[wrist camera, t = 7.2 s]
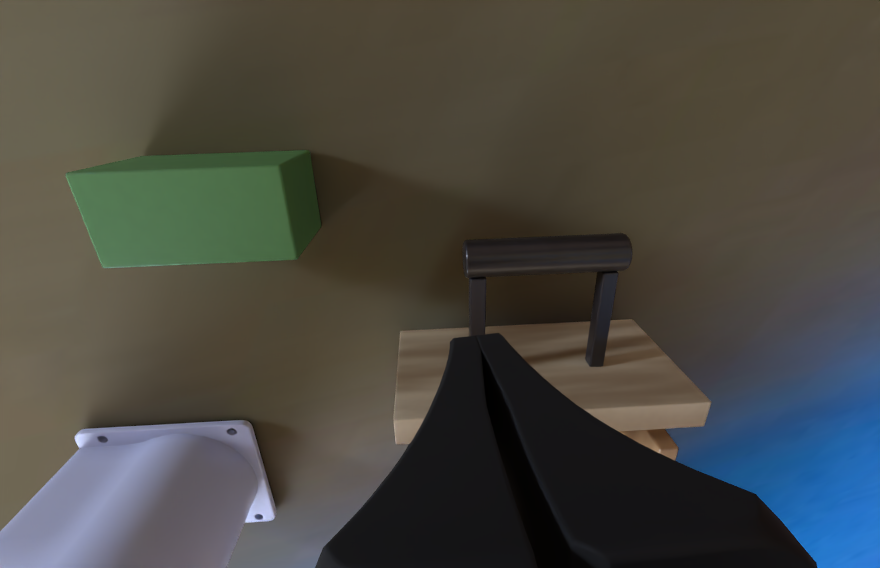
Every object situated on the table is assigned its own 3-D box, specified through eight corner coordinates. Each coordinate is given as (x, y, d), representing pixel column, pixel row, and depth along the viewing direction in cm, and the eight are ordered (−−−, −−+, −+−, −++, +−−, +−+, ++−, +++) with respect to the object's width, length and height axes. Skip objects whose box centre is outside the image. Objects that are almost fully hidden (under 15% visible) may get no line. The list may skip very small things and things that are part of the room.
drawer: (391, 218, 18) (378, 274, 12) (653, 207, 18) (757, 256, 13) (415, 523, 26) (415, 640, 21) (595, 512, 27) (643, 623, 21)
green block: (166, 233, 19) (101, 269, 15) (141, 155, 17) (62, 173, 13) (322, 227, 19) (297, 260, 15) (310, 149, 17) (279, 164, 14)
